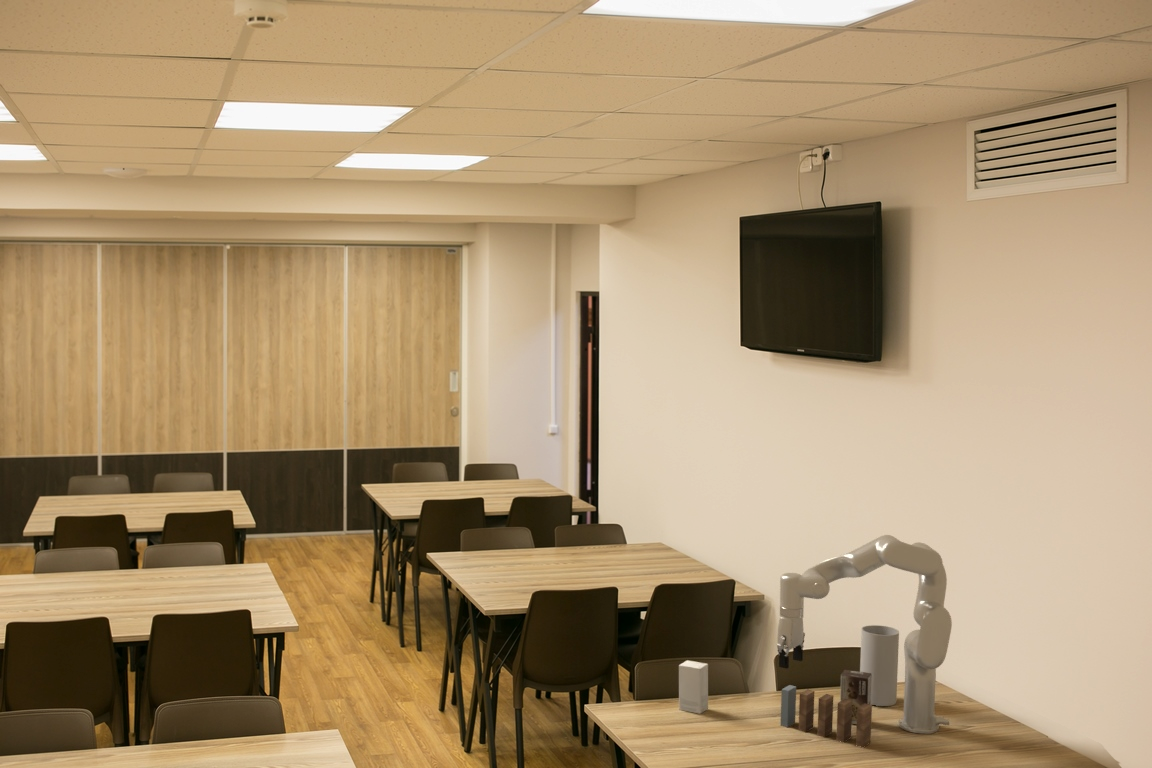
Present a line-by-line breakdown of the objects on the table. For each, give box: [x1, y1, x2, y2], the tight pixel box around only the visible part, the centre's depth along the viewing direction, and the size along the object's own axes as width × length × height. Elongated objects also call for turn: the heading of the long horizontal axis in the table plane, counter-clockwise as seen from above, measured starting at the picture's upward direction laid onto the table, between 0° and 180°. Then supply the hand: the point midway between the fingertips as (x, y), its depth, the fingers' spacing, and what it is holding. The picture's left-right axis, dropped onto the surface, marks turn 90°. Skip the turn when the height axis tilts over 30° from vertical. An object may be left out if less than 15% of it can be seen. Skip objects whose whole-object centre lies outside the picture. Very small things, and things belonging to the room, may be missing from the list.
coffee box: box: [839, 669, 871, 725], centre depth 365 cm, size 9×6×16 cm
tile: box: [780, 684, 797, 728], centre depth 362 cm, size 2×6×12 cm, turn 142°
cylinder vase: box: [859, 624, 900, 707], centre depth 385 cm, size 12×12×25 cm
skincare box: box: [678, 659, 709, 715], centre depth 373 cm, size 8×7×16 cm
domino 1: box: [798, 689, 815, 733], centre depth 358 cm, size 2×6×12 cm, turn 142°
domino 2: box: [816, 693, 834, 738], centre depth 354 cm, size 2×6×12 cm, turn 142°
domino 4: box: [855, 703, 873, 748], centre depth 346 cm, size 2×6×12 cm, turn 142°
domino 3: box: [835, 699, 853, 743], centre depth 350 cm, size 2×6×12 cm, turn 142°
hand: (790, 664), depth 361 cm, fingers open, 9 cm apart
